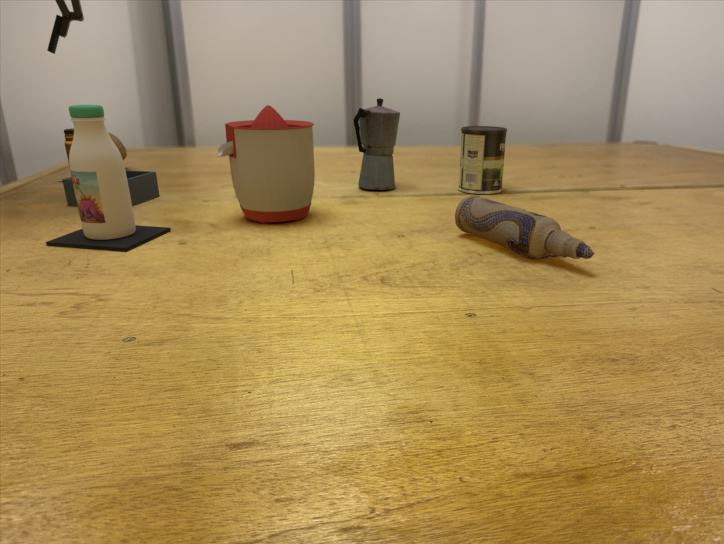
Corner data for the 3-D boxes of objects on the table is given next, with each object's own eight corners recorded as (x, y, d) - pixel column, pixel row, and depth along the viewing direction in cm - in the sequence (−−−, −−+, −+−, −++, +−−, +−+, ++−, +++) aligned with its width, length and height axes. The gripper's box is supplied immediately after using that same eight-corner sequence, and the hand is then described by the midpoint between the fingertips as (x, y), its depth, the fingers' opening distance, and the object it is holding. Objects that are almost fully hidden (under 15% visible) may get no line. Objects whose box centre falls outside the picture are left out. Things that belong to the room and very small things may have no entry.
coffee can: (501, 186, 133) (506, 126, 128) (502, 195, 124) (507, 130, 119) (459, 185, 135) (462, 125, 129) (456, 193, 126) (459, 129, 120)
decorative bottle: (450, 235, 94) (452, 196, 91) (483, 229, 98) (486, 192, 95) (568, 280, 74) (575, 232, 72) (604, 271, 78) (612, 225, 76)
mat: (46, 245, 86) (45, 241, 86) (98, 225, 97) (98, 222, 97) (126, 251, 84) (125, 247, 84) (171, 230, 95) (170, 227, 94)
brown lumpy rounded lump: (124, 166, 154) (117, 129, 150) (134, 170, 148) (127, 132, 144) (88, 169, 149) (80, 131, 145) (97, 174, 143) (89, 134, 139)
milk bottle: (129, 225, 95) (106, 103, 87) (142, 235, 90) (120, 105, 82) (79, 233, 91) (51, 104, 83) (90, 244, 85) (61, 107, 77)
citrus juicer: (217, 212, 107) (204, 103, 99) (303, 204, 114) (297, 102, 107) (234, 232, 94) (221, 109, 86) (330, 221, 101) (325, 107, 94)
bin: (67, 205, 111) (61, 179, 108) (109, 193, 122) (104, 169, 120) (122, 209, 108) (117, 182, 106) (159, 196, 120) (155, 171, 118)
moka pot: (410, 185, 134) (411, 97, 126) (376, 196, 122) (375, 100, 114) (377, 181, 138) (376, 96, 131) (341, 191, 126) (338, 99, 118)
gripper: (-59, -143, 86) (-90, -6, 89) (115, -55, 97) (82, 64, 100) (-43, -123, 92) (-72, 3, 95) (118, -44, 103) (88, 68, 106)
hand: (7, 34), depth 97 cm, fingers open, 13 cm apart
